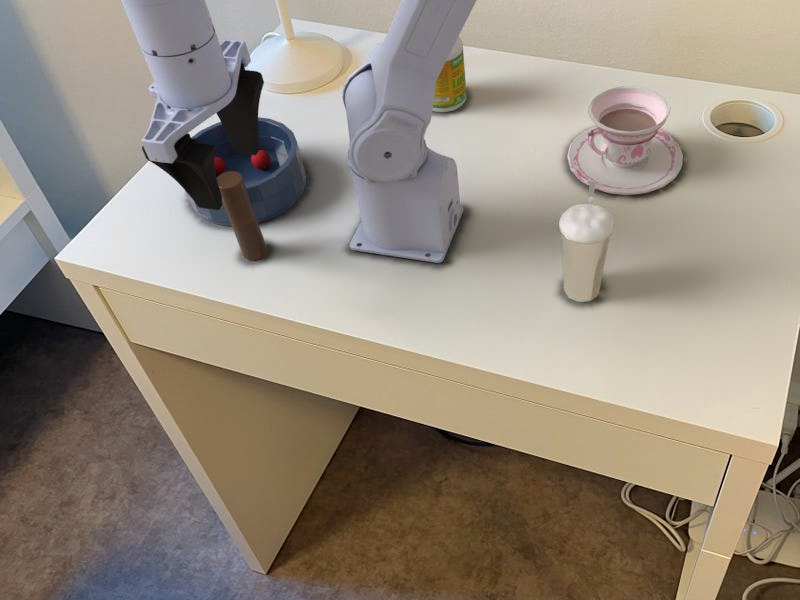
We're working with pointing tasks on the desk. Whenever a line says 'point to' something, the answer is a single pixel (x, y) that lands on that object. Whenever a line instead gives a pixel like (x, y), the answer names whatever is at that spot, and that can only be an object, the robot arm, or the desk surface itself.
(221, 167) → the berry
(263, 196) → the bowl
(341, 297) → the desk surface
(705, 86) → the desk surface
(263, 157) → the berry
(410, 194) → the robot arm
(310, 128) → the desk surface
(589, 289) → the milkshake
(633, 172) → the teacup
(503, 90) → the desk surface
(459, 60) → the supplement bottle
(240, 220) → the stirring stick
